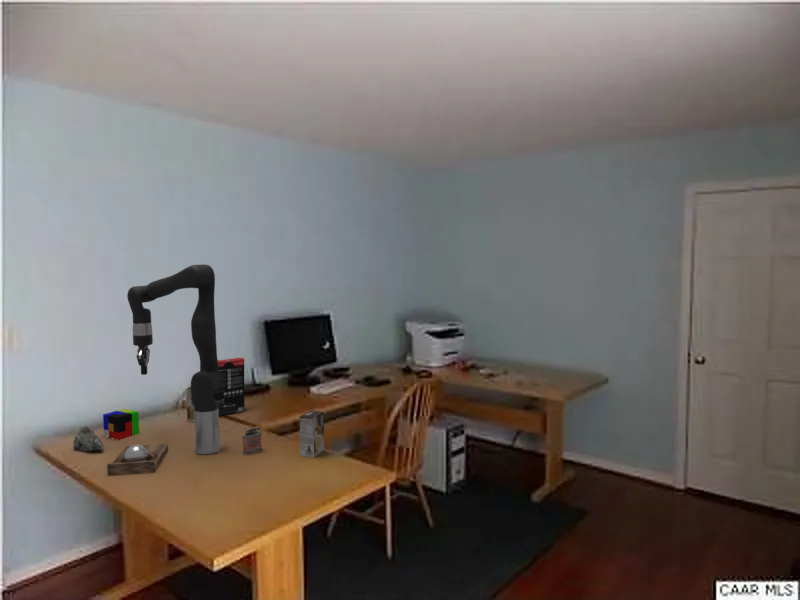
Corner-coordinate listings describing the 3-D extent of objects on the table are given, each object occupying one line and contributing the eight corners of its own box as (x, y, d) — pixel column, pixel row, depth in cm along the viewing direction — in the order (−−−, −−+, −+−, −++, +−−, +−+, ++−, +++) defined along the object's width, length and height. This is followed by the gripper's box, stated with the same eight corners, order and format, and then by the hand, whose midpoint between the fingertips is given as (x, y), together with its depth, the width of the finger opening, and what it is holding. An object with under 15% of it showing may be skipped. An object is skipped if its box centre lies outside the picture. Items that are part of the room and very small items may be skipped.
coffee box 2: (310, 448, 239) (310, 410, 237) (324, 450, 237) (324, 411, 235) (299, 455, 230) (299, 416, 229) (314, 457, 228) (313, 417, 226)
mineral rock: (104, 453, 234) (103, 428, 233) (73, 458, 228) (72, 433, 227) (102, 444, 245) (101, 420, 244) (72, 448, 239) (71, 424, 238)
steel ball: (142, 448, 216) (138, 470, 215) (153, 445, 224) (149, 466, 223) (122, 444, 216) (118, 465, 216) (134, 441, 224) (129, 462, 224)
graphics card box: (240, 409, 297) (239, 356, 295) (246, 412, 292) (244, 358, 290) (207, 415, 286) (205, 360, 284) (213, 418, 281) (211, 362, 279)
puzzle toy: (104, 436, 254) (103, 414, 253) (124, 430, 263) (123, 408, 262) (119, 440, 249) (118, 417, 248) (139, 433, 258) (138, 411, 257)
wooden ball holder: (168, 450, 237) (167, 440, 237) (154, 472, 213) (154, 461, 213) (126, 452, 234) (125, 442, 234) (107, 475, 211) (107, 464, 210)
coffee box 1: (211, 418, 281) (210, 385, 279) (204, 422, 274) (203, 388, 273) (193, 417, 282) (192, 385, 281) (186, 421, 276) (185, 388, 274)
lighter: (244, 455, 230) (244, 430, 230) (241, 453, 233) (240, 428, 232) (263, 451, 236) (263, 426, 235) (259, 448, 238) (259, 424, 237)
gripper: (148, 335, 238) (150, 377, 239) (155, 331, 251) (157, 370, 252) (128, 336, 236) (130, 378, 238) (137, 331, 249) (138, 371, 251)
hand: (144, 374), depth 245 cm, fingers closed
